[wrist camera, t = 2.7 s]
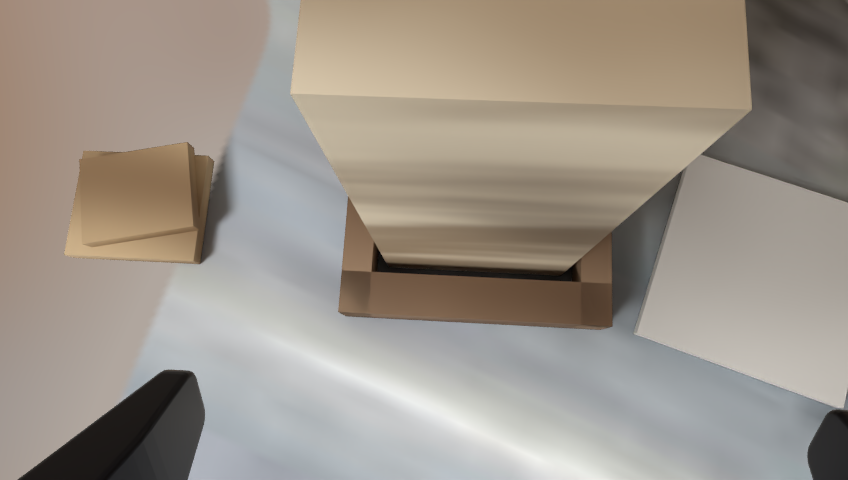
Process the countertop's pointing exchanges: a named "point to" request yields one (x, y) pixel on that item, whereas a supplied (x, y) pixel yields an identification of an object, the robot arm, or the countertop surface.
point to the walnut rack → (474, 290)
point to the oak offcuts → (141, 205)
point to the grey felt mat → (754, 280)
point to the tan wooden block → (513, 117)
